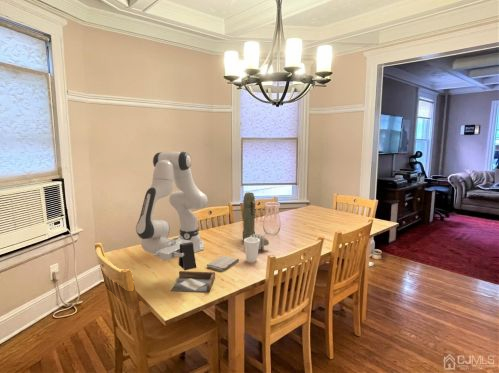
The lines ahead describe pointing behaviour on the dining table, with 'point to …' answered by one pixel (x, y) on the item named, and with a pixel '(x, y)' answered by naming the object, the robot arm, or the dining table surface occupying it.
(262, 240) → the toy sheep
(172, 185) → the robot arm
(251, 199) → the green cactus
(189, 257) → the door stopper
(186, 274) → the tray
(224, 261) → the washcloth
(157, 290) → the dining table surface
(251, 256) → the foam cup
